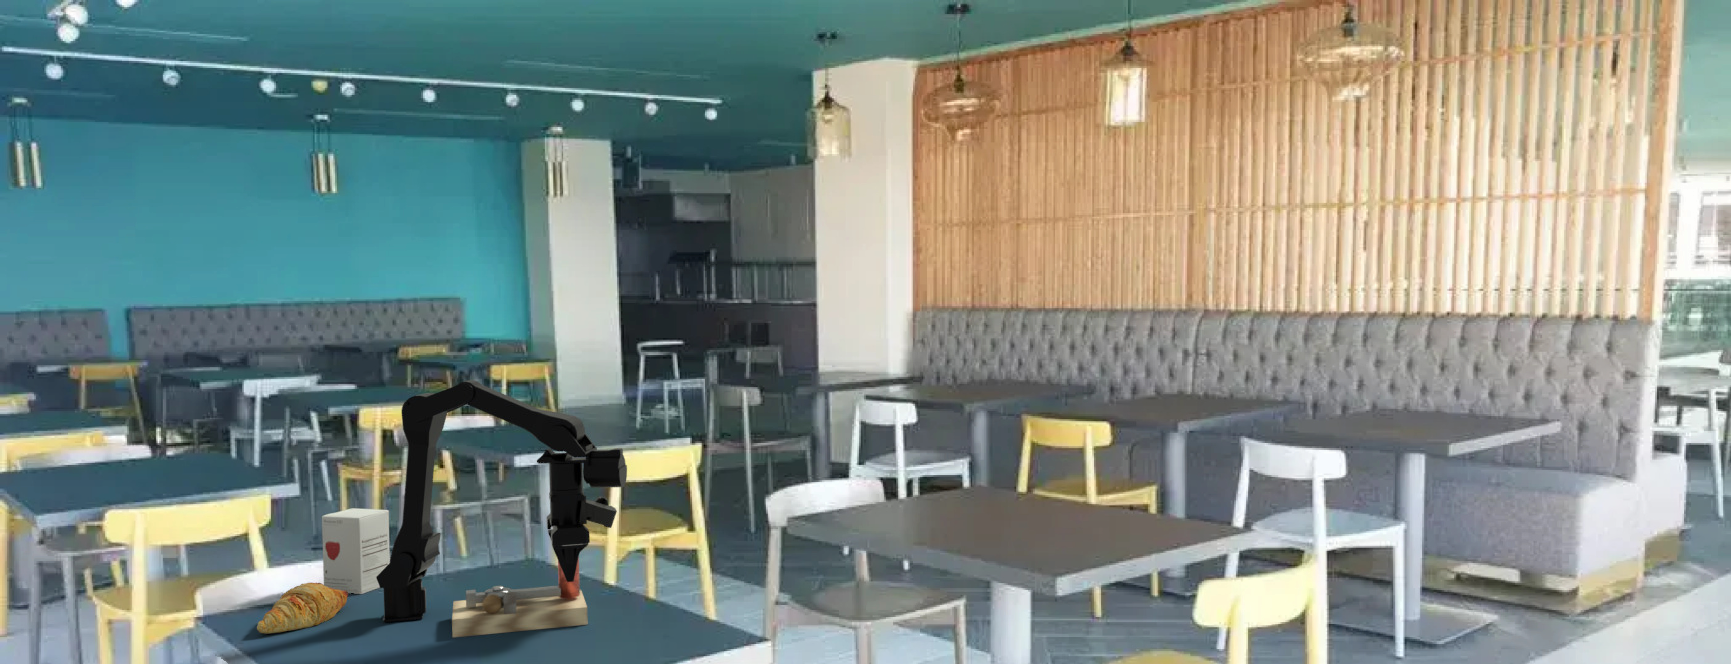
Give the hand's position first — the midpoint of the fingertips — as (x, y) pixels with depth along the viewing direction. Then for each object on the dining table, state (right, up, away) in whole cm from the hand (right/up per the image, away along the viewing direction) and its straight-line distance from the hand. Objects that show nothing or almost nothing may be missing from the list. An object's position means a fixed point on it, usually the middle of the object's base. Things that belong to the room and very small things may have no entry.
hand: (568, 575), depth 216 cm
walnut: (-11, -5, -9) cm, 15 cm away
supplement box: (-47, -7, +24) cm, 53 cm away
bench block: (-8, -7, -3) cm, 11 cm away
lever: (-7, -4, -2) cm, 9 cm away
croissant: (-47, -8, 0) cm, 47 cm away
